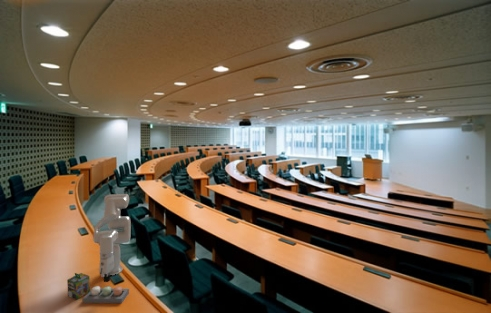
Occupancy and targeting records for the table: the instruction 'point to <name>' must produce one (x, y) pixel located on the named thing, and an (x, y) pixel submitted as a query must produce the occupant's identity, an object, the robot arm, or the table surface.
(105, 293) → the pale green rounded piece
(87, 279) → the chalk box
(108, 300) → the button board
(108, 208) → the robot arm
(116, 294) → the pink rounded dome
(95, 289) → the white rounded piece
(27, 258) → the table surface
